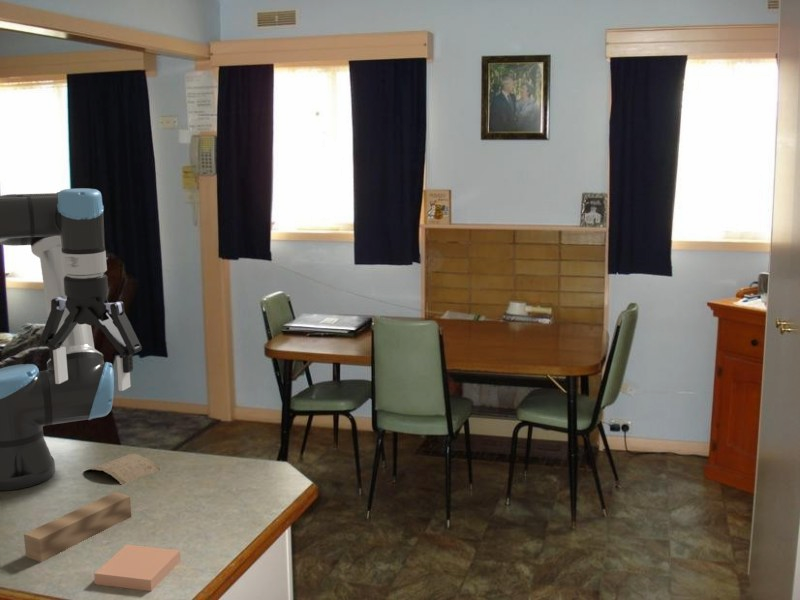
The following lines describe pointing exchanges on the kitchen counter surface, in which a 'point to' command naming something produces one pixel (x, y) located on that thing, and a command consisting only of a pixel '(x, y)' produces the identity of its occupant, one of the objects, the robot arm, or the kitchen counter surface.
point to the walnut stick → (76, 526)
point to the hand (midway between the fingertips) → (92, 385)
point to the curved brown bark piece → (128, 468)
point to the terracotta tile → (137, 567)
